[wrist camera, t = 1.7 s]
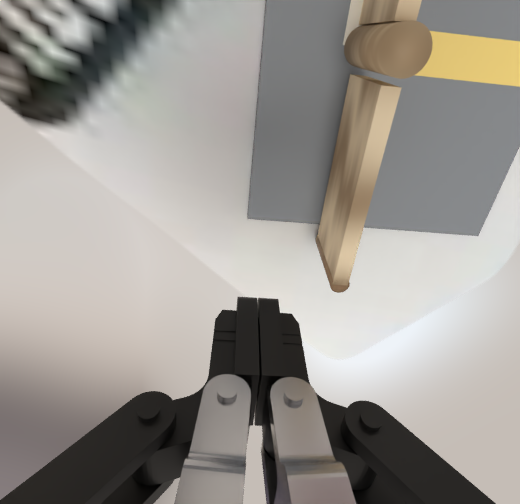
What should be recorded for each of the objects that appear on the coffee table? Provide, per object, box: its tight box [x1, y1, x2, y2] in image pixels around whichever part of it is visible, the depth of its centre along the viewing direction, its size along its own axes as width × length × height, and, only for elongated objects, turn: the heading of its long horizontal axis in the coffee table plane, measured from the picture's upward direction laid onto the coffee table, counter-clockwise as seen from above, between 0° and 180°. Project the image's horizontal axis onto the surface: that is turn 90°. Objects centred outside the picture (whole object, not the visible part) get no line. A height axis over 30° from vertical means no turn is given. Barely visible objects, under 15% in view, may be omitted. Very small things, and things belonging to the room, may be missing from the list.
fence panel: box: [316, 74, 401, 292], centre depth 23 cm, size 12×1×6 cm, turn 175°
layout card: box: [248, 0, 520, 236], centre depth 21 cm, size 28×18×1 cm, turn 175°
